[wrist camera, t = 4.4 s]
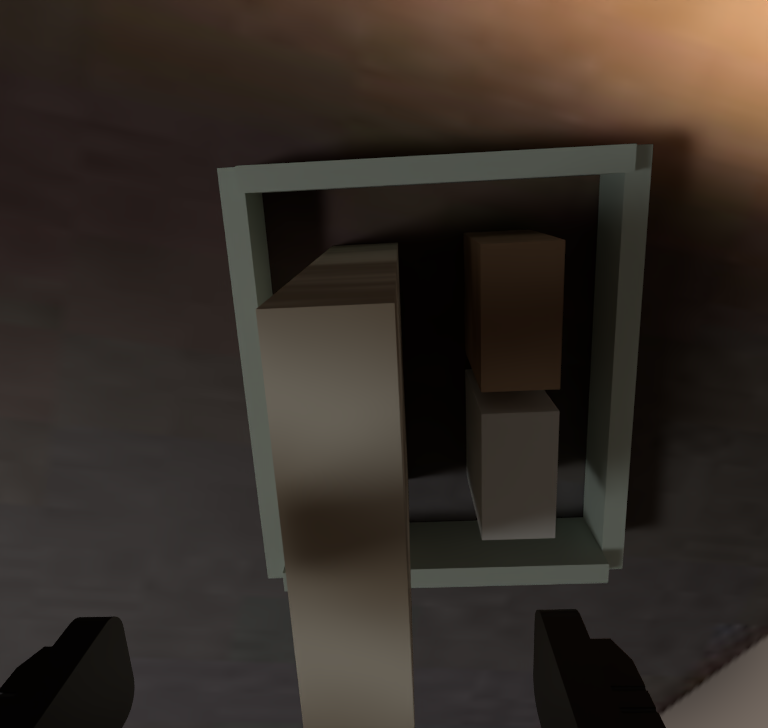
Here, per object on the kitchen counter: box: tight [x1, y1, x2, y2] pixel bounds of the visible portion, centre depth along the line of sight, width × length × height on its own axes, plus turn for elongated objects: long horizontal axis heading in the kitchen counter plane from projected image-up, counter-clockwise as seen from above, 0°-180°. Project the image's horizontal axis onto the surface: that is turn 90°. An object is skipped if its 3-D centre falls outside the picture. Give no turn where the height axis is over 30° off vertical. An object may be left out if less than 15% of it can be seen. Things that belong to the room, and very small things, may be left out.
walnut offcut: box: [463, 229, 565, 392], centre depth 25 cm, size 6×3×6 cm, turn 3°
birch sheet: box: [256, 243, 415, 728], centre depth 22 cm, size 12×3×15 cm, turn 3°
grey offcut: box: [465, 369, 560, 540], centre depth 26 cm, size 6×3×6 cm, turn 3°
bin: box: [217, 144, 653, 591], centre depth 27 cm, size 19×17×4 cm
